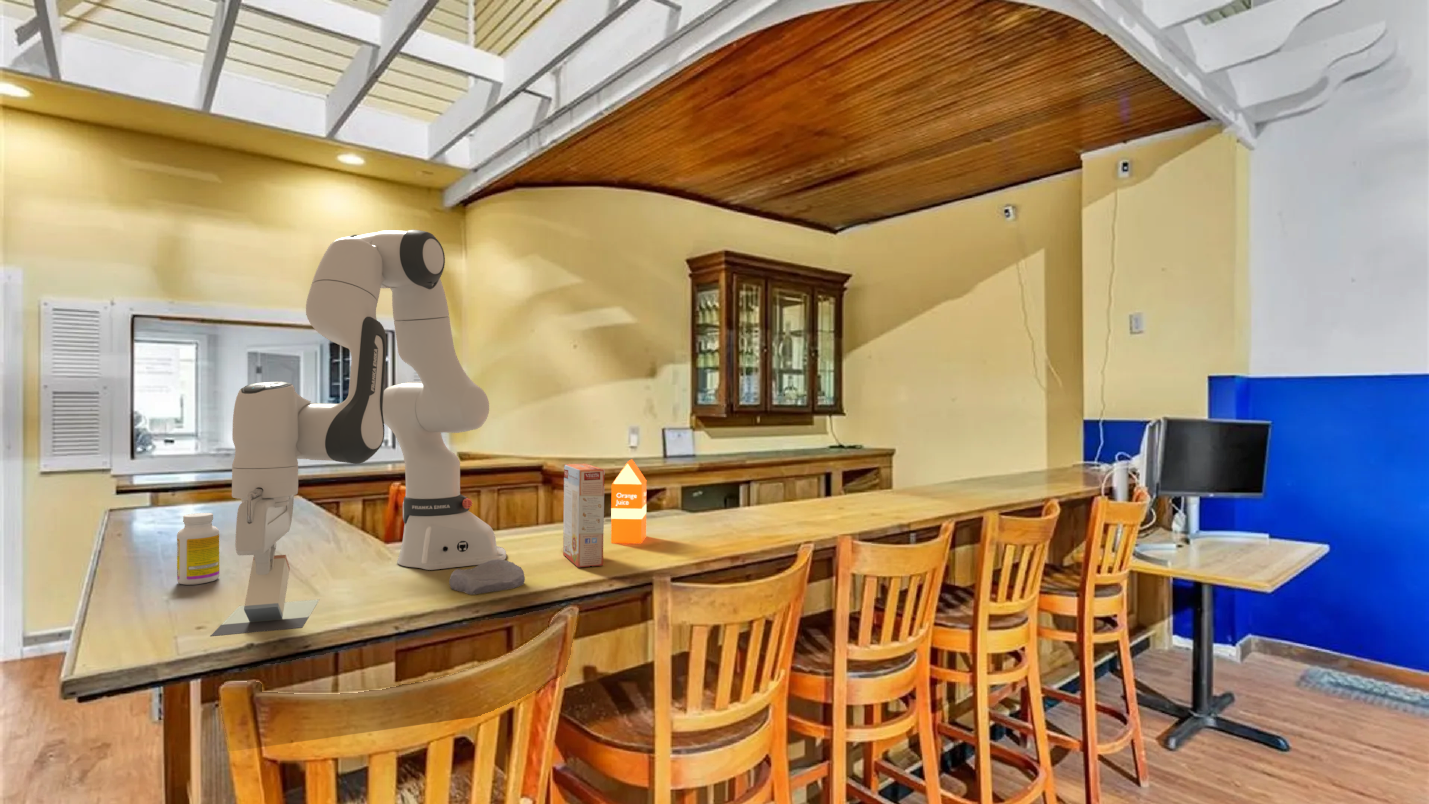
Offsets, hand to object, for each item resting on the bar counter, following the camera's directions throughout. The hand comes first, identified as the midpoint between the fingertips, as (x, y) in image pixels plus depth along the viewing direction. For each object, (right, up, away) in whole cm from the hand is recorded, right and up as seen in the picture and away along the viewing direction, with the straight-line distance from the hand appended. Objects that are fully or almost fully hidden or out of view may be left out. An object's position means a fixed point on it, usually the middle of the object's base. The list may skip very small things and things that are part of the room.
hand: (264, 572), depth 113 cm
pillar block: (0, -6, -1) cm, 6 cm away
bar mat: (-1, -8, +3) cm, 9 cm away
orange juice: (+49, -8, +68) cm, 85 cm away
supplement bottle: (-29, -8, +25) cm, 39 cm away
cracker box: (+42, -8, +45) cm, 62 cm away
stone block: (+28, -9, +23) cm, 38 cm away
